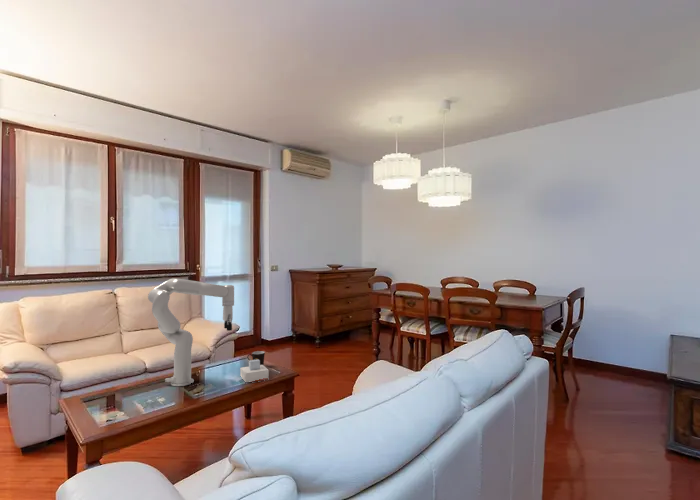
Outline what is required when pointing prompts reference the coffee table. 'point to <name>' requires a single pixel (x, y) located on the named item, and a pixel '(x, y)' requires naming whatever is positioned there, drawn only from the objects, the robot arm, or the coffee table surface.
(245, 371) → the socket
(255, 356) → the coffee mug
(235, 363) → the coffee table surface
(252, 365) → the plug
